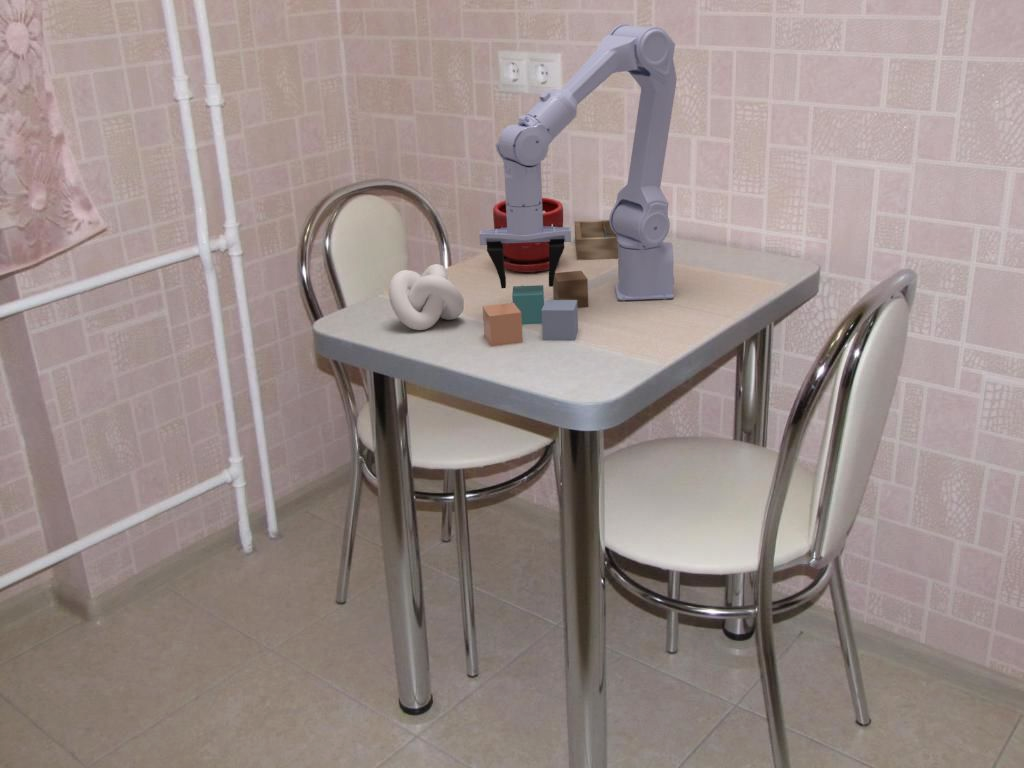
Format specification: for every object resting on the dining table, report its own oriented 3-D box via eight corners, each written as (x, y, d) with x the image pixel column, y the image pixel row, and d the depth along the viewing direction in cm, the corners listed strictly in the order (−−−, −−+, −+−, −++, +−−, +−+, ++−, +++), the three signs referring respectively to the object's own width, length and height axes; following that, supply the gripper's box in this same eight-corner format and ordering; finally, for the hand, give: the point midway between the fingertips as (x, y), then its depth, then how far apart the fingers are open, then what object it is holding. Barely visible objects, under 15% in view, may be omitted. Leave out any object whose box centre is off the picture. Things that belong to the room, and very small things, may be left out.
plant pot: (482, 267, 203) (478, 206, 198) (533, 253, 211) (531, 193, 206) (527, 281, 194) (524, 216, 189) (579, 265, 201) (577, 203, 197)
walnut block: (581, 298, 183) (581, 270, 181) (588, 307, 179) (587, 278, 177) (553, 301, 183) (552, 273, 181) (559, 310, 178) (558, 281, 176)
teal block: (544, 313, 177) (543, 285, 175) (544, 324, 172) (543, 294, 170) (514, 315, 177) (513, 286, 175) (513, 325, 172) (512, 295, 170)
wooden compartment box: (643, 237, 217) (643, 218, 215) (650, 257, 204) (650, 236, 202) (575, 240, 217) (574, 221, 216) (577, 259, 204) (576, 239, 203)
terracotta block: (514, 332, 169) (513, 302, 167) (522, 342, 165) (521, 312, 163) (484, 336, 168) (482, 306, 166) (491, 346, 164) (489, 316, 162)
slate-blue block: (578, 329, 169) (577, 300, 167) (574, 341, 164) (573, 310, 162) (546, 329, 170) (545, 299, 168) (542, 340, 165) (541, 310, 163)
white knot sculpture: (478, 313, 178) (475, 262, 175) (447, 338, 168) (443, 284, 165) (418, 308, 182) (413, 258, 179) (384, 332, 172) (379, 279, 169)
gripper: (569, 195, 170) (571, 276, 176) (479, 199, 171) (483, 279, 176) (570, 205, 164) (572, 289, 169) (477, 209, 164) (481, 292, 170)
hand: (527, 285), depth 172 cm, fingers open, 7 cm apart
